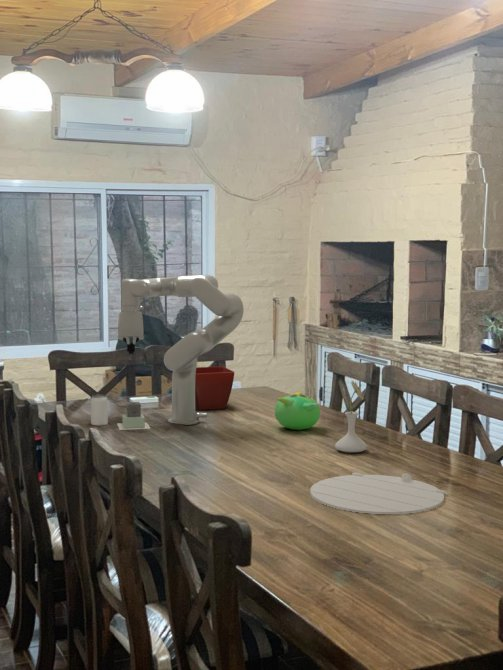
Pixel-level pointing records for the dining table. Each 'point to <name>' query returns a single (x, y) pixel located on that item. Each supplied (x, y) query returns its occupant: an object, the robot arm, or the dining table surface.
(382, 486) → the lazy susan
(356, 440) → the flower in vase
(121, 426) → the baseplate
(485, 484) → the dining table surface
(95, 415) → the can
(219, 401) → the plant pot
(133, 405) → the dice cube
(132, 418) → the sage brick
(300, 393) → the toy bird
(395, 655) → the dining table surface
